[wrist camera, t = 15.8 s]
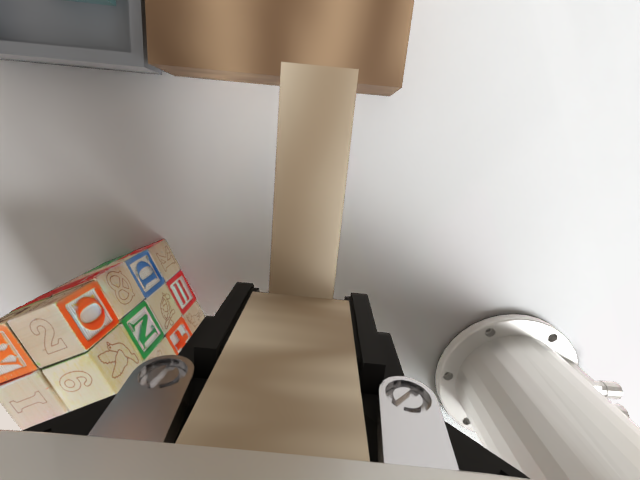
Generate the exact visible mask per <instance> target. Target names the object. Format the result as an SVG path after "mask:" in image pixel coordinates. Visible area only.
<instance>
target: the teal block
mask: <svg viewBox="0 0 640 480" xmlns="http://www.w3.org/2000/svg"><path fill="white" fill-rule="evenodd" d="M66 1H75V2H84V3H92V4H101V5H110V6H116V0H66Z"/></svg>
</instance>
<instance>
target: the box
mask: <svg viewBox="0 0 640 480" xmlns="http://www.w3.org/2000/svg"><path fill="white" fill-rule="evenodd" d="M0 59H3V60H13V61H24V62H34V63H45V64H55V65H66V66H77V67H87V68H98V69H108V70H119V71H129V72H140V73H150V74H161V75H162V72H161V69H159V68H157V67H154V66H152V65H150V64H148V55H147V34H146V13H145V0H116V6H110V5H101V4H92V3H84V2H75V1H66V0H0Z"/></svg>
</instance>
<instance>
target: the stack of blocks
mask: <svg viewBox="0 0 640 480" xmlns="http://www.w3.org/2000/svg"><path fill="white" fill-rule="evenodd" d="M204 318H205V316H204V314H203V312H202V310H201V308H200V307H199V305H198V303H197V301H196V297H195V296H194V294H193V292H192V290H191V288H190V286H189V284H188V282H187V280H186V278H185V277H184V275H183V273H182V271H181V269H180V267H179V265H178V263H177V261H176V259H175V257H174V255H173V253H172V251H171V249H170V247H169V246H168V244H167V242H166V240H165V239H163V240H160V241H158V242H155V243H153V244H150V245H148V246H145V247H143V248H140V249H138V250H135V251H133V252H131V253H129V254H127V255H124V256H121V257H119V258H116V259H114V260H111V261H109V262H106V263H103V264H101V265H99V266H97V267H96V268H94V269H92V270H90V271H88V272H86V273H85V274H83V275H81V276H79V277H77V278H75V279H73V280H71V281H69V282H67V283H65V284H63V285H61V286H59V287H57V288H56V289H54V290H52V291H50V292H48V293H45V294H43V295H41V296H39V297H37V298H36V299H34V300H32V301H30V302H28V303H26V304H25V305H23V306H20V307H18V308H16V309H14V310H13V311H11V312H10V313H9V314H7V315H5V316H3V317H2V318H0V403H1V404H2V406H3V407H4V408H5V409H6V411H7V412H8V413H9V414H10V416H11V417H12V418H13V419H14V421H15V422H16V423H17V424H18V426H19V427H20V428H21V429H22V430H24V429H27V428H29V427H31V426H34V425H37V424H39V423H42V422H44V421H47V420H50V419H52V418H55V417H57V416H60V415H63V414H65V413H68V412H70V411H73V410H76V409H78V408H81V407H83V406H86V405H89V404H91V403H94V402H96V401H99V400H102V399H104V398H107V397H109V396H112V395H115V394H117V393H118V392H119V390H120V389H121V387H122V386H123V384H124V383H125V382H126V380H127V379H128V377H129V376H130V375H131V373H132V372H133V371H134V370H135V369H136V368H137V367H138V366H139V365H140V364H142V363H143V362H145V361H147V360H150V359H152V358H155V357H159V356H163V355H178V354H179V352H180V351H181V350H182V348H183V347H184V345H185V344H186V343H187V341H188V340H189V338H190V337H191V336H192V334H193V333H194V332H195V330H196V329H197V327H198V326H199V325H200V323H201V322H202V320H203V319H204Z"/></svg>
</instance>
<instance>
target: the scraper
mask: <svg viewBox="0 0 640 480" xmlns="http://www.w3.org/2000/svg"><path fill="white" fill-rule="evenodd" d="M358 72H359V69H351V68H341V67H330V66H320V65H309V64H299V63H289V62H281V74H280V93H279V111H278V130H277V149H276V167H275V186H274V204H273V223H272V242H271V260H270V279H269V293H263V292H252V294H251V296H250V298H249V300H248V302H247V304H246V306H245V308H244V310H243V311H242V313H241V315H240V317H239V319H238V321H237V323H236V325H235V327H234V329H233V331H232V333H231V335H230V337H229V339H228V341H227V343H226V345H225V347H224V349H223V351H222V353H221V355H220V356H219V358H218V360H217V362H216V364H215V366H214V368H213V370H212V372H211V374H210V376H209V378H208V380H207V382H206V384H205V386H204V388H203V390H202V392H201V394H200V396H199V398H198V400H197V401H196V403H195V405H194V407H193V409H192V411H191V413H190V415H189V417H188V419H187V421H186V423H185V425H184V427H183V429H182V431H181V433H180V435H179V437H178V439H177V441H176V443H175V444H185V445H196V446H207V447H218V448H229V449H240V450H251V451H263V452H273V453H284V454H294V455H305V456H316V457H326V458H337V459H347V460H358V461H368V462H370V458H369V450H368V442H367V435H366V427H365V420H364V412H363V404H362V397H361V389H360V381H359V374H358V366H357V358H356V351H355V343H354V335H353V328H352V320H351V313H350V305H349V301H347V300H337V299H333V294H334V285H335V276H336V267H337V258H338V249H339V241H340V232H341V223H342V214H343V205H344V196H345V187H346V178H347V170H348V161H349V152H350V143H351V134H352V125H353V116H354V107H355V98H356V90H357V81H358Z"/></svg>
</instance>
